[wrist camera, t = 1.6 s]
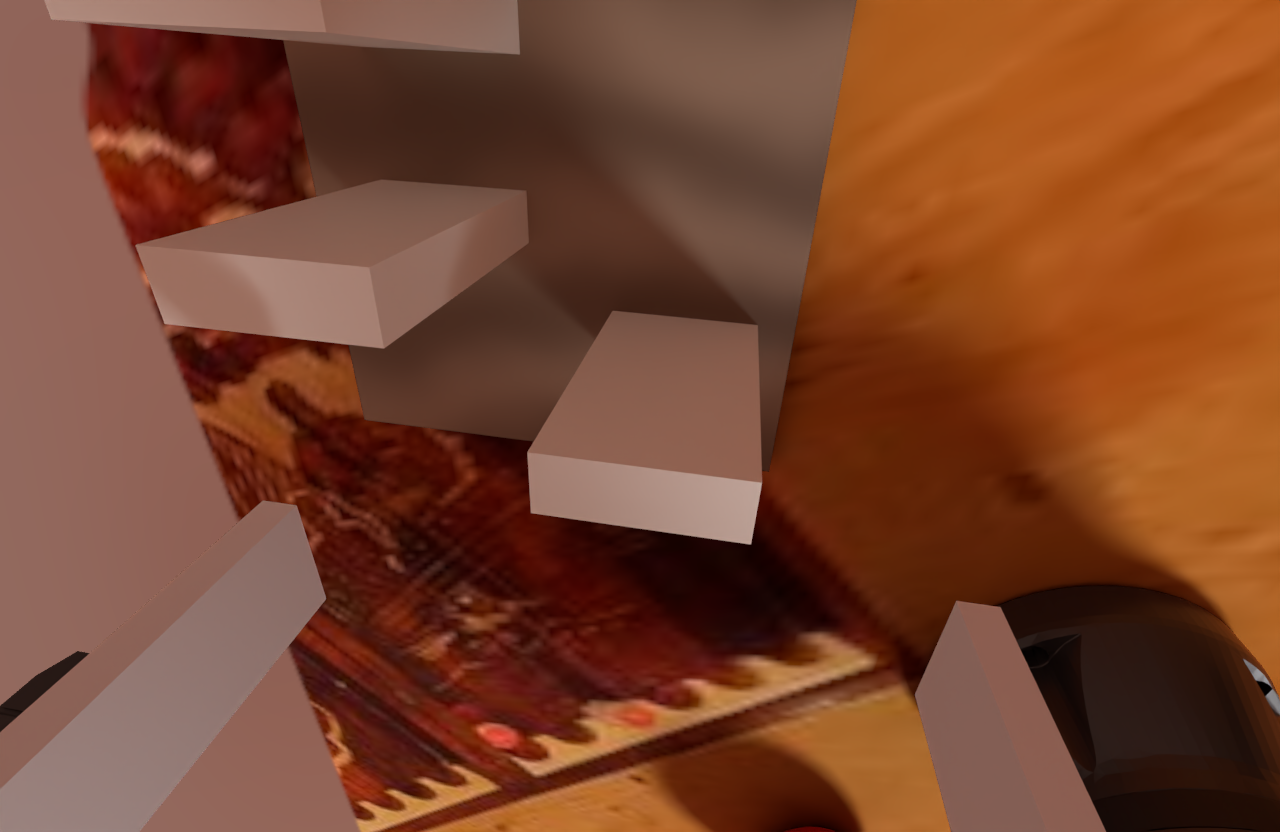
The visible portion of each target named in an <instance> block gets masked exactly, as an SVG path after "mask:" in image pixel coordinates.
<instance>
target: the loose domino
mask: <svg viewBox="0 0 1280 832" xmlns="http://www.w3.org/2000/svg"><path fill="white" fill-rule="evenodd" d="M527 456H528V473H529V490H530V507H531V513H533V514H540V515H547V516H554V517H561V518H568V519H575V520H582V521H589V522H596V523H603V524H610V525H617V526H624V527H632V528H639V529H646V530H653V531H660V532H667V533H674V534H681V535H688V536H695V537H702V538H709V539H716V540H723V541H730V542H737V543H744V544H751V542H752V536H753V531H754V525H755V520H756V514H757V509H758V503H759V497H760V492H761V486H762V459H761V423H760V386H759V350H758V325H752V324H742V323H732V322H722V321H712V320H702V319H691V318H681V317H671V316H661V315H651V314H641V313H631V312H621V311H612V313H611V314H610V316H609V318H608V319H607V321H606V323H605V324H604V326H603V327H602V329H601V331H600V332H599V334H598V336H597V337H596V339H595V341H594V342H593V344H592V346H591V347H590V349H589V351H588V352H587V354H586V356H585V357H584V359H583V361H582V362H581V364H580V366H579V367H578V369H577V371H576V372H575V374H574V376H573V377H572V379H571V381H570V382H569V384H568V386H567V387H566V389H565V391H564V392H563V394H562V395H561V397H560V399H559V400H558V402H557V404H556V405H555V407H554V409H553V410H552V412H551V414H550V415H549V417H548V419H547V420H546V422H545V424H544V425H543V427H542V429H541V430H540V432H539V434H538V435H537V437H536V439H535V440H534V442H533V444H532V445H531V447H530V449H529V450H528V452H527Z"/></svg>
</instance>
